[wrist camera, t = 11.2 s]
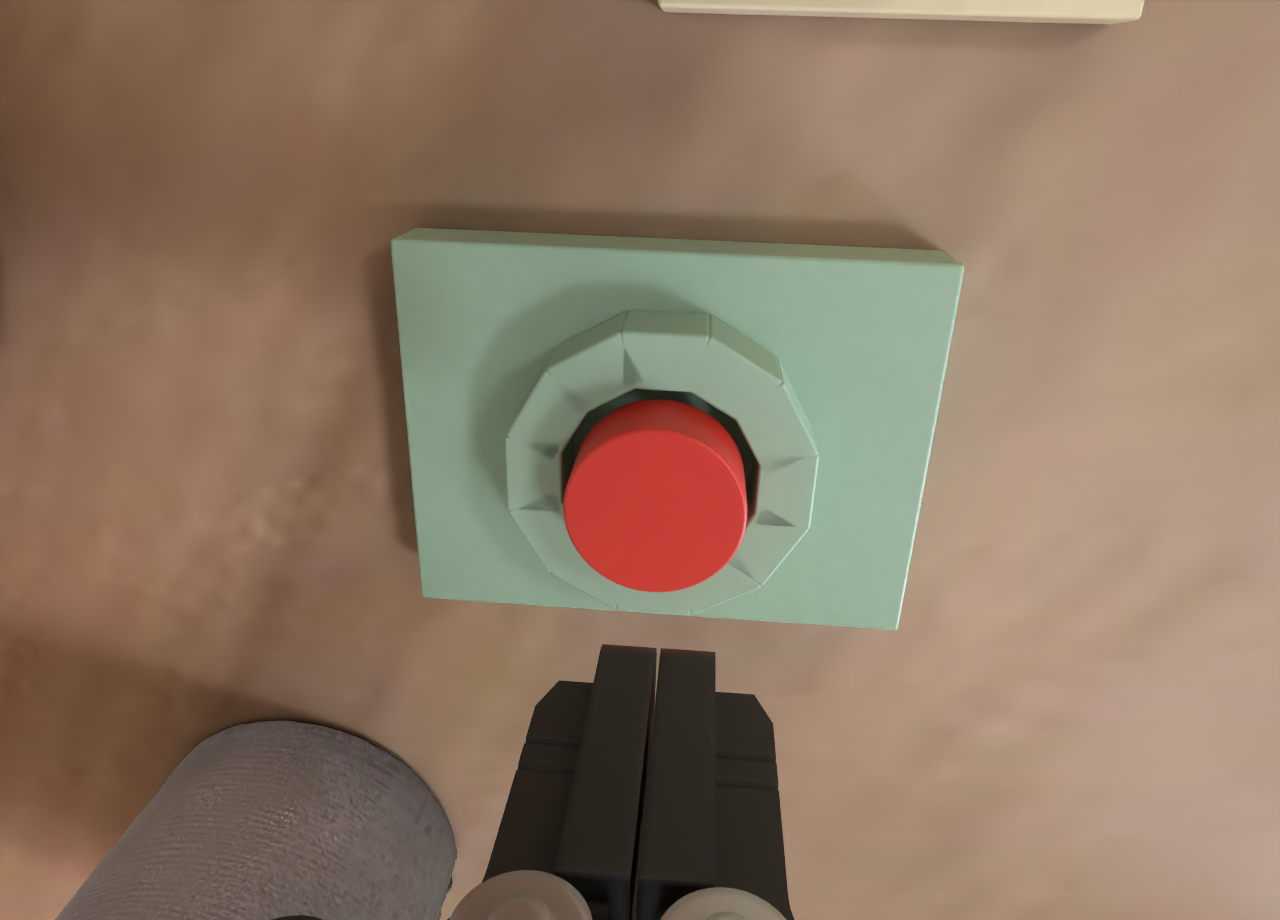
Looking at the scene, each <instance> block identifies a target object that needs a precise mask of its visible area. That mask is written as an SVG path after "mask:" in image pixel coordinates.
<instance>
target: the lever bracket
mask: <svg viewBox="0 0 1280 920" xmlns="http://www.w3.org/2000/svg"><path fill="white" fill-rule="evenodd" d="M1144 1H1145V0H658V4H659V7H660V8H661V10H662V11H664V12H676V13H712V14H749V15H785V16H821V17H858V18H894V19H930V20H967V21H1003V22H1039V23H1076V24H1117V23H1123V22H1130V21H1135V20H1138V19H1139V18H1140V16H1141V14H1142V10H1143V5H1144Z"/></svg>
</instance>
